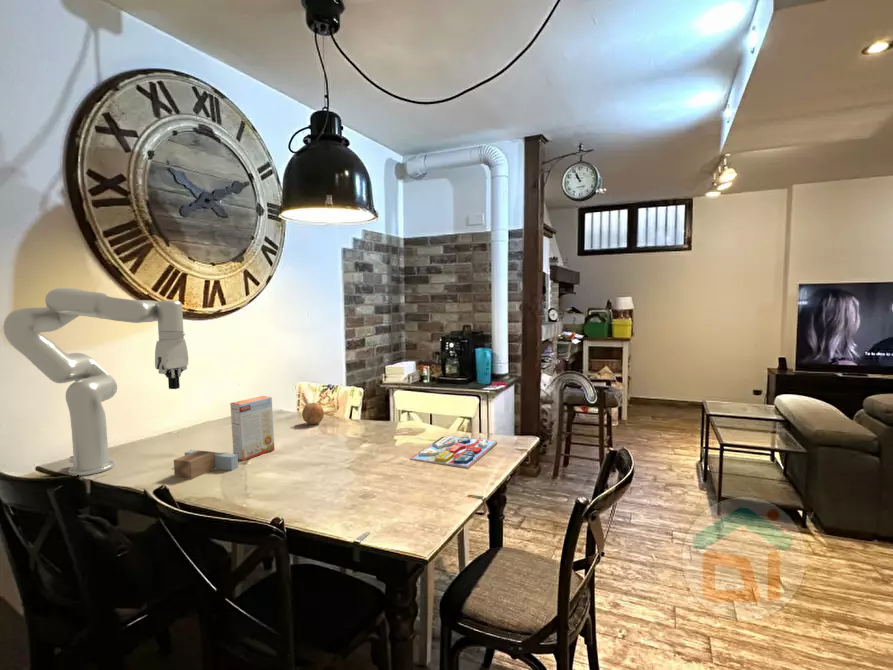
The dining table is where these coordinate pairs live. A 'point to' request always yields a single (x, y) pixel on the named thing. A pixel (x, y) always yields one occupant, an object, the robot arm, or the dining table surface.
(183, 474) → the walnut block
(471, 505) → the dining table surface
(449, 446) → the puzzle board
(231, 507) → the dining table surface
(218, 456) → the batten
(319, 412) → the onion
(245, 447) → the cracker box
